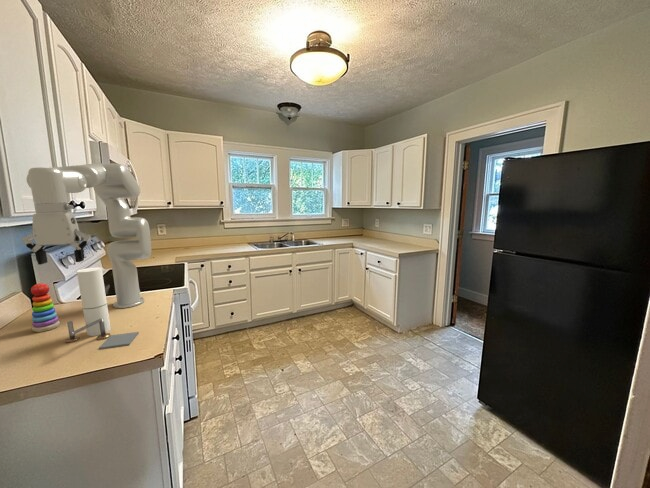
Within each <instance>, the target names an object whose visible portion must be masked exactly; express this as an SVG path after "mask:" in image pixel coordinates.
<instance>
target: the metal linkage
mask: <svg viewBox="0 0 650 488" xmlns="http://www.w3.org/2000/svg"><path fill="white" fill-rule="evenodd" d="M97 323H99V325H100V332H101V335H96V340H97V341H103V340H105V339H106V340H107V339H108V338H109V337H110V336H111V335H112V334H111V333H110V332H105V325H104V319H98V320H96V321H94V322H92V323H90V324H88V325H86V324H85V325H84V326H82V327H79V328H77V329H76V330H75V328H74V323H73V321H72V320H68V321H67V330H68V336H69V337H67V338H66V339H65V343H66V344H70V343H75V342H77V341H79V340H80V339H81V336H80V335H77V334H78V333H80V332H83V331H85V330H86V329H87V328H89V327H91V326H93V325H95V324H97Z"/></svg>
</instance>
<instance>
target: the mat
mask: <svg viewBox="0 0 650 488" xmlns="http://www.w3.org/2000/svg"><path fill="white" fill-rule="evenodd" d="M139 333H140V332H139V331H135V332H127V333H119V334H110V335H111V336H110V337H109V338H106V340H104V342H103V343H102V344H101V345H100V346H99V347H98V350H104V349H109V348H110V349H111V348H117V347H126V346H130V345H131V344H132V342H133V341H134V340H135V339H136V338H137V336H138V335H139Z"/></svg>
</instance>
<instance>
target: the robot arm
mask: <svg viewBox="0 0 650 488" xmlns="http://www.w3.org/2000/svg"><path fill="white" fill-rule="evenodd" d="M26 183H27V186H28V187H29V188H30V189H31V196H32V200H33V201H32V202H33V206H34V212H35V213H33V215H32V233H30V234H28V235H26V236H23V237H22V238H21V241H22V243H23V244H24V245H26V247H27V248H28V249H29V250H31V251H32V253H34V256H35V259H36V262H37V265H44V264H47V263H48V257H47V251H46V250H44V249H45V248H46V247H47V246H48V247H49V246H65V245H67V246H68V245H70V246H72V247H73V248H74V259H75V262H76V263H80V262H83V261H84V260H85V251H84V249H85V248H86V247H87V246H88V245H89V243H90V240H91V238H92V235H90V234H88V233H85V232H83V231H80V228H79V224H78V221H77V219H76V216H75V214H74V212H70V211H71V210H74V209H75V208H74V205H73V204H70V203H68V202H69V200H68V195H67V194H78V193H81V192H84V191H85V190H86V189H92V188H93V191H94V192H95V194H96V195H97V197H99V198H100V200H101V201H102V202H103V204H104V205H105V207H106V211H107V220H108V231H109V233H110V235H111V236H112V237H113V238H121V239H123V238H124V239H125V240H116V241H112V242H110V243H109V244H107V246H106V252H107V253H106V254H107V256H108V258H109V262H110V265H111V269H112V276H113V277H112V278H113V283H114V291H115V296H116V297H115V298H116V301H114V303H113V304H112V305H113V308H115V309H127V308H133V307H135V306H139V305H141V304H143V303H144V302H145V298H144V297H142V296H141V290H140V284H139V283H140V282H139V277H138V276H139V275H138V268H137V266H136V265H135V263H134V262H133V261H134V260H145V259H149V258H150V257H151V256H152V239H151V230H150V225H149V221H148V220H147V219H146V218H144V217H131V212H130V211H131V209H130V206H129V205H128V203H127V202H126V201H125V200H124V199H136V198H138V197H139V196H140V194H141V188H140V185H139V183H138V182H137V180H136V178H135V177H134V176H133V173H132V172H130V170H129V168H127V167H126V166H125V165H123V164H121V163H114V162H111V163H110V162H109V163H107V162H106V163H103V162H94V163H86V164H79V165H77V164H76V165H66V166H53V167H32V168H30V169H29V170H28V174H27V176H26ZM126 238H137V239H132V240H131V239H126ZM82 239H83V240H82ZM32 240H33V241H34V242H33V241H32ZM81 240H82V241H81Z"/></svg>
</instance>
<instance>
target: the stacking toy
mask: <svg viewBox="0 0 650 488" xmlns="http://www.w3.org/2000/svg"><path fill="white" fill-rule="evenodd" d="M49 291H50V286H49V285H47V284H46V283H42V282H41V283H36V284H34V285H33V286H31V288H30V293H31V294H32V296H33V297H32V301H33V302H32V306H33V307H31V308H32V309H31V310H32V312H31V316H32V317H31V321H32V323H31V324H32V325H31V326H32V328H31V330H32V332H35V333H41V332H47V331H51V330H53V329H56V328H57V327H58V326H60V324H61V321H60V320H59V319H60V318H59V316H57V315H58V314H57V312H56V308H55V304H54V303H53V299H52V298H51V295H50V293H49Z"/></svg>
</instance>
